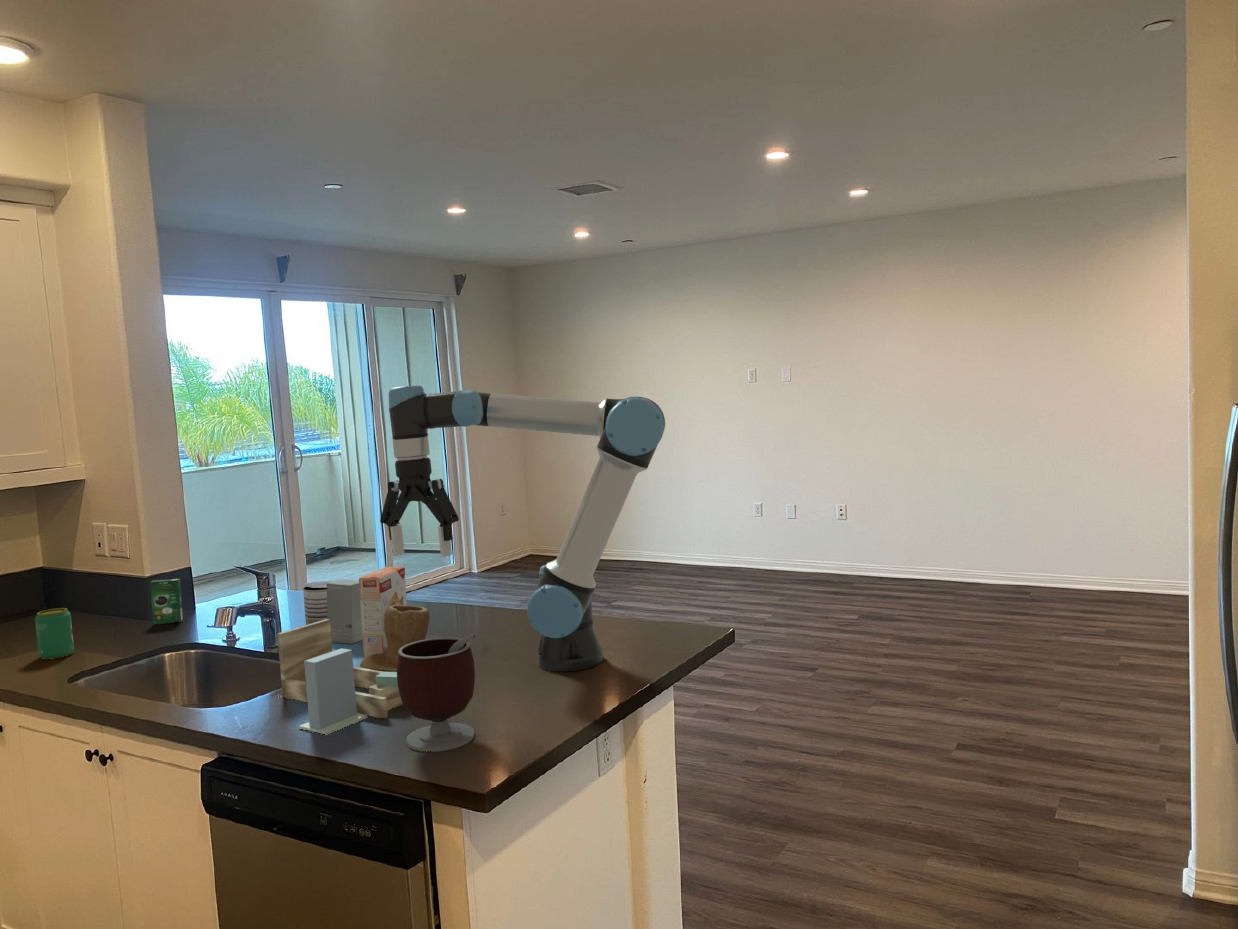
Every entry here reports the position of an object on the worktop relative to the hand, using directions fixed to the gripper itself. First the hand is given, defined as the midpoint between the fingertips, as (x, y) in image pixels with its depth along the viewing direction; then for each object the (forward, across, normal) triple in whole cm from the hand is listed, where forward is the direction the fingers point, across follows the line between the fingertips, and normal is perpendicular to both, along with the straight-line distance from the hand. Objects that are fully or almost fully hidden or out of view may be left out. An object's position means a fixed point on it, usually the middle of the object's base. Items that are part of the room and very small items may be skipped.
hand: (422, 555), depth 195 cm
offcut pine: (+26, 0, +14) cm, 30 cm away
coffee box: (+26, +118, -16) cm, 122 cm away
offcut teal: (+24, -1, +14) cm, 28 cm away
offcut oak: (+29, 0, +14) cm, 32 cm away
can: (+27, +68, -32) cm, 80 cm away
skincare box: (+28, +48, -20) cm, 59 cm away
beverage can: (+25, +115, +18) cm, 119 cm away
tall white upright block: (+28, +3, +26) cm, 38 cm away
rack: (+28, +10, +14) cm, 33 cm away
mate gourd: (+29, -23, +24) cm, 44 cm away
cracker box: (+28, +27, -13) cm, 41 cm away
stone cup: (+28, +15, -6) cm, 33 cm away
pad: (+28, +3, +26) cm, 39 cm away
